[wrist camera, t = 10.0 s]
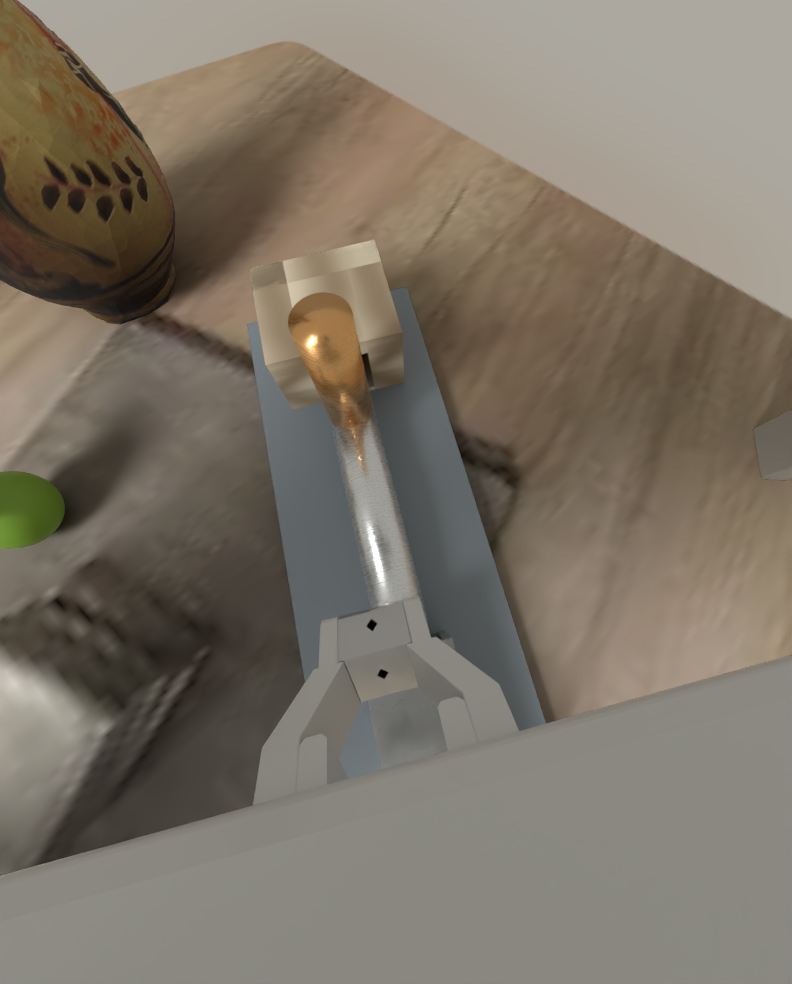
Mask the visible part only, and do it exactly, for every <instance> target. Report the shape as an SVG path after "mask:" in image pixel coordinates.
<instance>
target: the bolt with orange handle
mask: <svg viewBox="0 0 792 984" xmlns="http://www.w3.org/2000/svg"><path fill="white" fill-rule="evenodd" d="M288 328H289V331H290V333H291V335H292V337H293V340H294V342H295V344H296V346H297V348H298V350H299V353H300V355H301V357H302V359H303V361H304V364H305V366H306V368H307V370H308V372H309V374H310V377H311V379H312V381H313V383H314V385H315V388H316V390H317V392H318V394H319V396H320V398H321V401H322V403H323V405H324V407H325V409H326V412H327V414H328V416H329V419H330V423H331V428H332V433H333V437H334V442H335V446H336V451H337V455H338V460H339V465H340V469H341V474H342V478H343V483H344V488H345V492H346V497H347V501H348V506H349V510H350V515H351V520H352V524H353V529H354V533H355V538H356V543H357V547H358V552H359V556H360V561H361V565H362V570H363V575H364V579H365V584H366V588H367V593H368V598H369V602H370V607H371V608H374V607H378V606H381V605H385V604H389V603H392V602H396V601H400V600H402V602H403V599H407V598H410V597H414V596H417V595H418V596H419V597H420V600H421V604H422V607H423V611H424V614H425V618H426V621H427V625H428V628H429V631H430V635H431V638H433V635H432V631H431V627H430V623H429V619H428V615H427V612H426V608H425V604H424V600H423V596H422V592H421V588H420V584H419V581H418V577H417V573H416V569H415V565H414V561H413V557H412V553H411V550H410V546H409V542H408V538H407V534H406V530H405V526H404V522H403V519H402V515H401V511H400V507H399V503H398V499H397V495H396V491H395V488H394V484H393V480H392V476H391V472H390V468H389V464H388V460H387V457H386V453H385V449H384V445H383V441H382V437H381V433H380V429H379V426H378V422H377V418H376V414H375V410H374V406H373V402H372V398H371V395H370V391H369V387H368V383H367V378H366V374H365V369H364V364H363V359H362V354H361V350H360V345H359V340H358V335H357V331H356V326H355V321H354V316H353V312H352V309H351V307H350V305H349V304H348V302H347V301H346V300H345V299H343V298H342V297H340V296H338V295H336V294H332V293H326V292H321V293H314V294H311V295H308V296H306V297H304V298H302V299H301V300H300V301H298V302H297V303H296V304H295V305H294V307H293V308H292V310H291V312H290V314H289V317H288Z"/></svg>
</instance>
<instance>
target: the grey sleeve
mask: <svg viewBox="0 0 792 984" xmlns="http://www.w3.org/2000/svg"><path fill="white" fill-rule="evenodd" d="M432 635H433V637H437V638H439V639H440V640H441V641H443V642H444V643H445V644H447V645H448V646H449V647H451V648H452V649H453V650H455V646H454V642H453V639H452V637H451V636H450V635H449V634H448V633H447V632H446V631H445V630H443V631H439V632H435V633H432ZM455 651H456V650H455ZM368 705H369V710H370V715H371V720H372V725H373V730H374V735H375V740H376V745H377V750H378V755H379V760H380V765H381V769H385V768H388V767H392V766H396V765H399V764H403V763H406V762H410V761H413V760H417V759H421V758H424V757H428V756H431V755H435V754H438V753H442V752H446V751H448V749H447V745H446V741H445V736H444V732H443V728H442V724H441V720H440V715H439V711H438V708H437V707H436V706H435V705H434V704H433V703H432V702H431V701H430V700H429V699H428V698H427V697H426V696H425V695H424V693H423V692H422V691H421V690H420V689H419V687H417V688H412V689H408V690H404V691H400V692H396V693H392V694H388V695H385V696H381V697H378V698H375V699H371V700H368Z"/></svg>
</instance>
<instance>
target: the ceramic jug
mask: <svg viewBox="0 0 792 984" xmlns="http://www.w3.org/2000/svg"><path fill="white" fill-rule="evenodd" d="M174 239H175V211H174V206H173V201H172V197H171V195H170V192H169V189H168V186H167V184H166V181H165V178H164V176H163V173H162V171H161V169H160V167H159V165H158V163H157V161H156V159H155V157H154V156H153V154H152V152H151V150H150V148H149V147H148V145H147V144H146V142H145V140H144V138H143V136H142V134H141V132H140V131H139V129H138V128H137V126H136V125H134V124H133V123H132V121H131V120H130V119H129V117H128V116H127V114H126V113H125V111H124V110H123V108H122V107H121V105H120V103H119V102H118V101H117V100H116V99H115V98H114V97H113V96H112V94H111V93H110V92H109V91H108V90H107V89H106V87H105V86H104V85H103V84H102V82H101V81H100V80H99V79H98V78H97V77H96V76H95V74H94V73H93V72H92V71H91V70H90V69H89V68H88V67H87V66H86V64H85V63H84V62H83V61H82V60H81V59H80V58H79V57H78V55H77V54H75V53H74V51H73V50H71V49H70V48H69V46H68V45H67V44H65V43H64V42H63V41H62V40H61V39H60V38H59V37H58V36H57V35H56V34H55V33H54V32H53V31H51V30H50V29H49V28H47V27H46V26H45V24H44V23H43V22H42V21H41V20H40V19H39V18H38V17H37V16H36V15H35V14H34V13H32V12H31V11H30V10H29V9H27V8H26V7H25V6H24V5H22V4H21V3H20V2H19V1H17V0H0V280H2V281H3V282H5V283H7V284H8V285H10V286H12V287H14V288H16V289H19V290H21V291H23V292H25V293H28V294H30V295H33V296H35V297H38V298H40V299H43V300H45V301H48V302H52V303H56V304H60V305H65V306H71V307H77V308H83V309H84V310H86V311H87V312H89V313H90V314H91V315H93V316H95V317H96V318H99V319H102V320H104V321H106V322H107V323H112V324H121V323H123V322H126V321H129V320H132V319H134V318H136V317H139V316H144V315H147V314H149V313H150V312H152V311H153V310H155V309H157V308H158V307H159V306H161V305H162V304H164V303H165V302H166V301H167V300H168V295H169V290H170V289H171V288H172V287H173V284H174V281H175V278H176V272H175V267H174V264H173V262H172V252H173V246H174Z"/></svg>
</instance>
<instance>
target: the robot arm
mask: <svg viewBox="0 0 792 984" xmlns="http://www.w3.org/2000/svg"><path fill="white" fill-rule="evenodd" d="M417 687H419V689H420V690H421V691H422V692H423V693H424V695H425V696H426V697H427V698H428V699H429V700H430V701H431V702H432V703H433V704H434V705H435V706H436V707H437V708H438V711H439V715H440V720H441V724H442V728H443V732H444V736H445V741H446V745H447V749H448V751H446V752H442V753H438V754H435V755H431V756H428V757H424V758H421V759H417V760H413V761H410V762H406V763H403V764H399V765H396V766H392V767H388V768H385V769H381V770H378V771H374V772H370V773H367V774H363V775H360V776H356V777H353V778H349V779H348V777H347V775H346V773H345V771H344V769H343V767H342V765H341V763H340V761H339V757H340V755H341V753H342V750H343V748H344V745H345V743H346V740H347V738H348V736H349V733H350V731H351V728H352V726H353V723H354V721H355V718H356V716H357V714H358V711H359V709H360V706H361V703H362V702H365V701H368V700H371V699H375V698H378V697H381V696H385V695H388V694H392V693H396V692H400V691H404V690H408V689H412V688H417ZM0 984H792V655H789V656H786V657H782V658H779V659H775V660H771V661H768V662H764V663H761V664H757V665H754V666H750V667H746V668H743V669H739V670H736V671H732V672H728V673H725V674H721V675H718V676H714V677H711V678H707V679H703V680H700V681H696V682H693V683H689V684H685V685H682V686H678V687H675V688H671V689H668V690H664V691H660V692H657V693H653V694H650V695H646V696H642V697H639V698H635V699H632V700H628V701H625V702H621V703H617V704H614V705H610V706H607V707H603V708H599V709H596V710H592V711H589V712H585V713H582V714H578V715H574V716H571V717H567V718H564V719H560V720H556V721H553V722H549V723H546V724H542V725H539V726H535V727H531V728H528V729H524V730H521V731H519V729H518V727H517V725H516V722H515V720H514V718H513V715H512V713H511V711H510V708H509V706H508V704H507V701H506V699H505V697H504V694H503V692H502V690H501V687H500V685H499V684H498V683H497V682H496V681H494V680H493V679H492V678H490V677H489V676H488V675H486V674H485V673H484V672H482V671H481V670H480V669H478V668H477V667H476V666H474V665H473V664H472V663H471V662H469V661H468V660H467V659H465V658H464V657H463V656H461V655H460V654H459V653H457V652H456V651H455V650H453V649H452V648H451V647H449V646H448V645H447V644H445V643H444V642H443V641H441V640H440V639H439V638H437V637H433V638H431V635H430V631H429V628H428V625H427V621H426V618H425V614H424V611H423V607H422V604H421V600H420V597H419V596H418V595H417V596H414V597H410V598H407V599H403V602H402V600H400V601H396V602H392V603H389V604H385V605H381V606H378V607H374V608H371V609H367V610H363V611H359V612H354V613H350V614H346V615H342V616H338V617H335V618H331V619H326V620H322V622H321V624H320V643H319V668H317V669H314V670H313V671H312V673H311V674H310V676H309V677H308V679H307V680H306V682H305V683H304V685H303V686H302V688H301V689H300V691H299V692H298V694H297V695H296V697H295V699H294V700H293V702H292V703H291V705H290V706H289V708H288V709H287V711H286V712H285V714H284V715H283V717H282V718H281V720H280V721H279V723H278V724H277V726H276V727H275V729H274V731H273V732H272V734H271V735H270V737H269V738H268V740H267V741H266V743H265V744H264V746H263V747H262V751H261V757H260V764H259V770H258V776H257V782H256V789H255V795H254V801H253V805H252V806H249V807H245V808H241V809H238V810H234V811H231V812H227V813H224V814H220V815H216V816H213V817H209V818H206V819H202V820H198V821H195V822H191V823H188V824H184V825H181V826H177V827H173V828H170V829H166V830H163V831H159V832H155V833H152V834H148V835H145V836H141V837H137V838H134V839H130V840H127V841H123V842H120V843H116V844H112V845H109V846H105V847H102V848H98V849H94V850H91V851H87V852H84V853H80V854H76V855H73V856H69V857H66V858H62V859H58V860H55V861H51V862H48V863H44V864H40V865H37V866H33V867H30V868H26V869H23V870H19V871H15V872H12V873H8V874H5V875H1V876H0Z"/></svg>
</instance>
